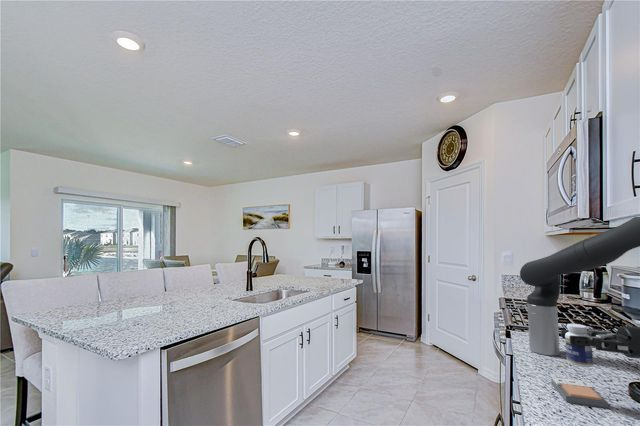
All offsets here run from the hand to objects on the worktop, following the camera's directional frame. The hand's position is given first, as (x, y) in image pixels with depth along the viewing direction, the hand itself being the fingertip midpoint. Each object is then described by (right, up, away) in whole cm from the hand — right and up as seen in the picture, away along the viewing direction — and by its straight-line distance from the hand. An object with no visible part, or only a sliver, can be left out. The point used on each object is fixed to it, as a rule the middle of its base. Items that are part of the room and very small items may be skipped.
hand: (566, 337), depth 85 cm
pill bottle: (+2, -7, -2) cm, 7 cm away
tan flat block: (+3, -16, 0) cm, 16 cm away
